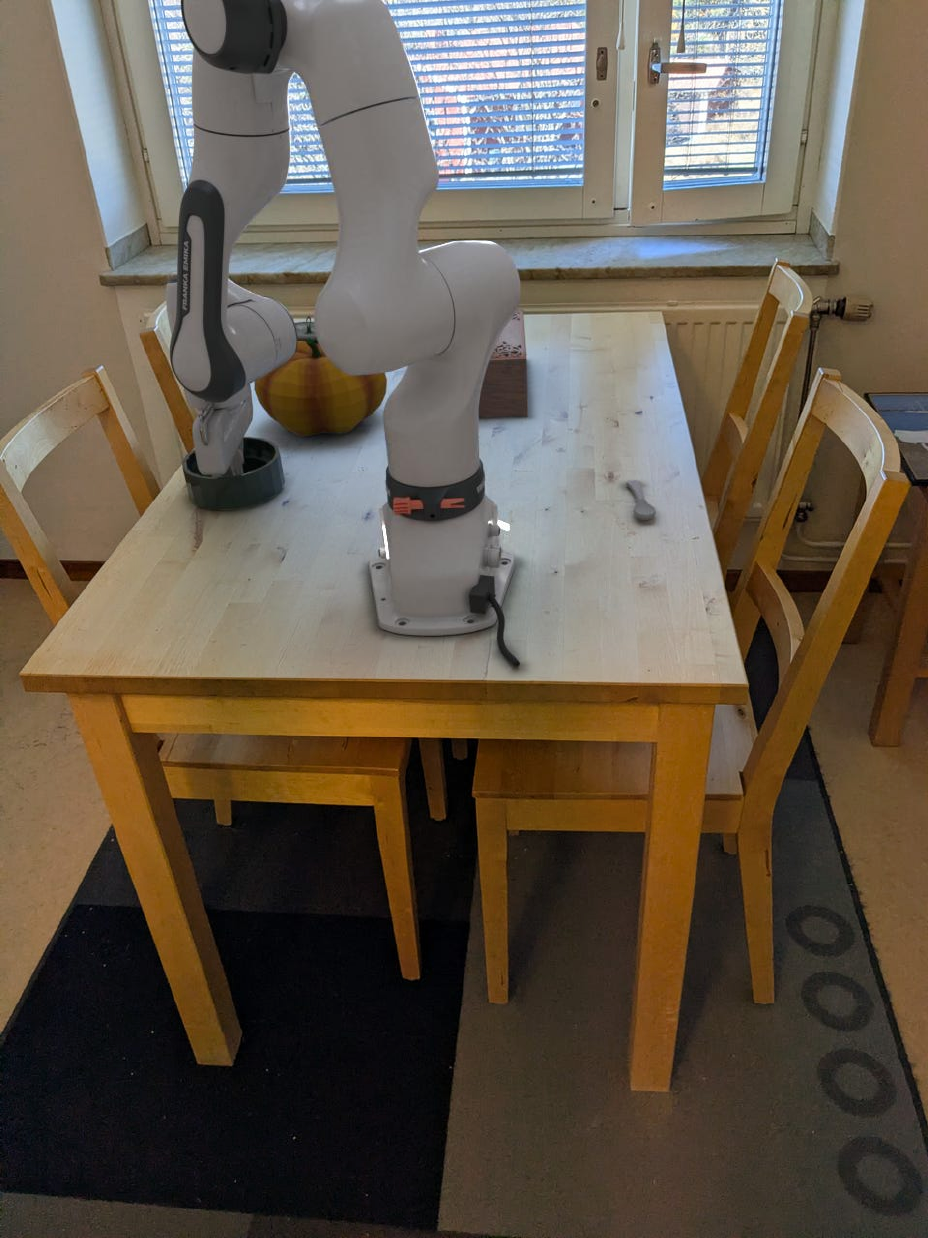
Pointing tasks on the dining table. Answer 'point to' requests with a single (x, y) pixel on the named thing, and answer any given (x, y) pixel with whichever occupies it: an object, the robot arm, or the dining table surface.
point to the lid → (306, 330)
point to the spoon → (641, 502)
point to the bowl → (238, 478)
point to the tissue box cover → (506, 374)
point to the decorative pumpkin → (318, 393)
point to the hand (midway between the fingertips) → (234, 475)
